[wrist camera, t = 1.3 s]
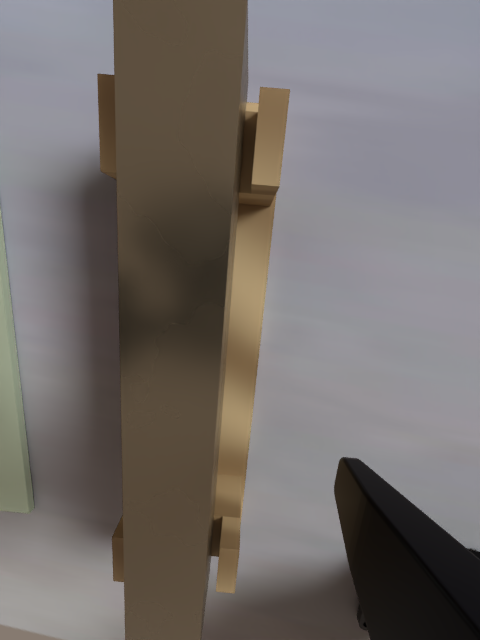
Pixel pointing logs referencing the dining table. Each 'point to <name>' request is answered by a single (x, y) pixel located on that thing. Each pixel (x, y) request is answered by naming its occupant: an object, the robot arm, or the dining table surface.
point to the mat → (11, 408)
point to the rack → (245, 311)
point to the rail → (174, 290)
